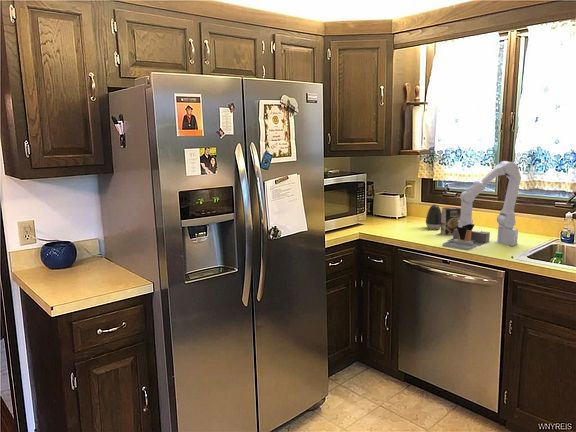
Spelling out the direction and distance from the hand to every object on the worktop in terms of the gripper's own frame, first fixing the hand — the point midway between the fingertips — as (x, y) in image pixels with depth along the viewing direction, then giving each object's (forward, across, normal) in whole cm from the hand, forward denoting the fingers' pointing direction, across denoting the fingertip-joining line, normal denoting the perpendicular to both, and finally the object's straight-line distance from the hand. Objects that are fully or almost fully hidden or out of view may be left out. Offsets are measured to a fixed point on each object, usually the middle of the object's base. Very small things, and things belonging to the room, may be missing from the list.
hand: (464, 238), depth 250 cm
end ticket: (+2, 0, 0) cm, 2 cm away
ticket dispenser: (+3, -5, 0) cm, 6 cm away
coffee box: (+3, -15, -15) cm, 21 cm away
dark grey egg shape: (+3, -25, -30) cm, 39 cm away
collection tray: (+3, +9, +1) cm, 10 cm away
